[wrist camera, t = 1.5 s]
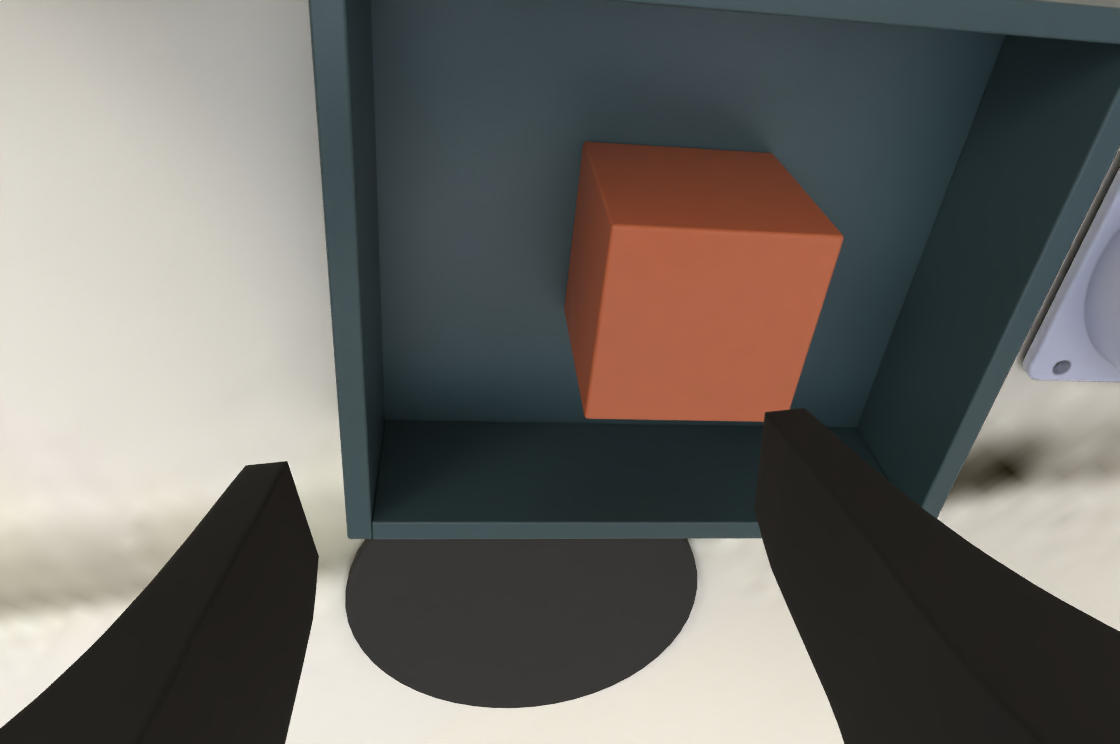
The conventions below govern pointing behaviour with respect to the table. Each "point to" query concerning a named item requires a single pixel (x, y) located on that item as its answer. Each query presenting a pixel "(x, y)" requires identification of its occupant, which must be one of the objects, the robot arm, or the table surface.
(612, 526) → the tote
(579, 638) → the coaster
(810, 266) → the block
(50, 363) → the table surface
